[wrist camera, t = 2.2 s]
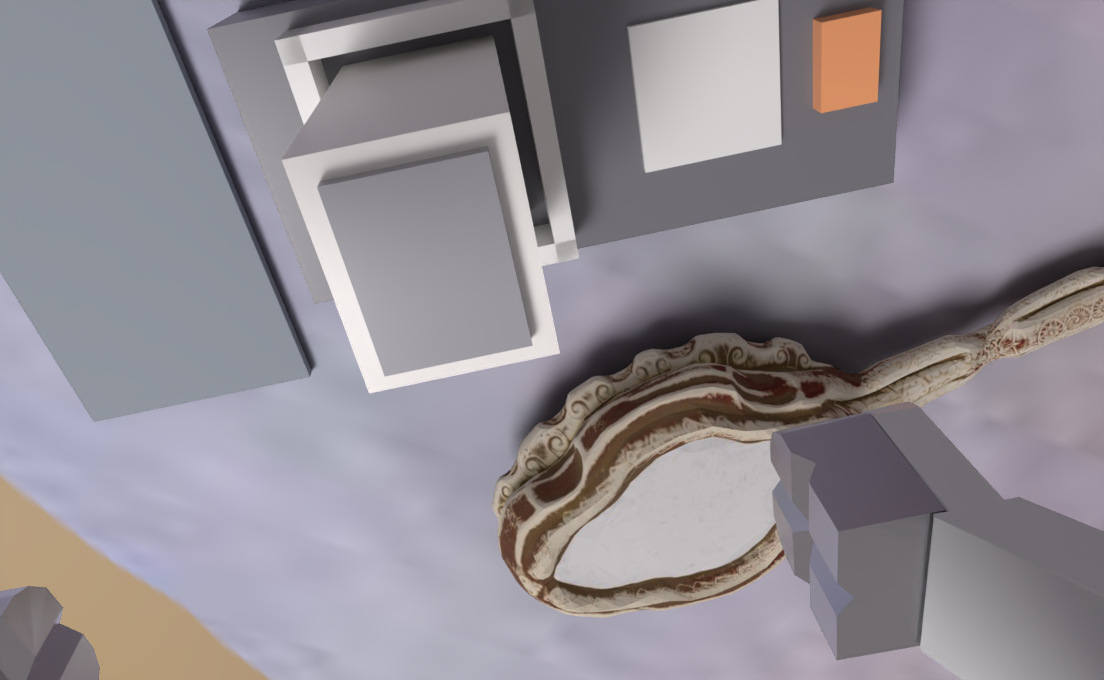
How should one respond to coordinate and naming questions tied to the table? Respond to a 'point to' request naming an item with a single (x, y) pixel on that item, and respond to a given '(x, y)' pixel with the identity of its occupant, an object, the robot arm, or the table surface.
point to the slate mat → (127, 215)
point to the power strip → (609, 101)
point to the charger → (423, 216)
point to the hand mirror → (713, 455)
